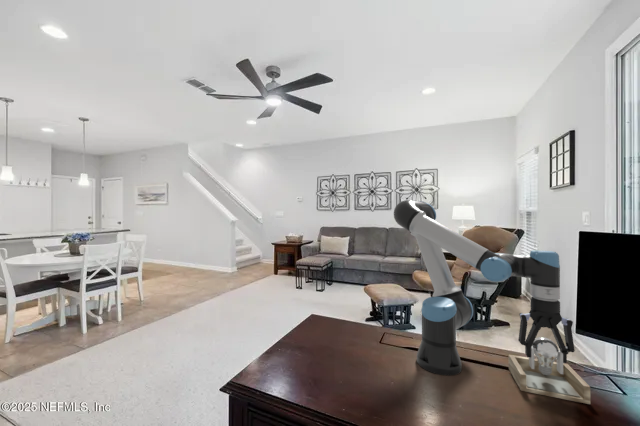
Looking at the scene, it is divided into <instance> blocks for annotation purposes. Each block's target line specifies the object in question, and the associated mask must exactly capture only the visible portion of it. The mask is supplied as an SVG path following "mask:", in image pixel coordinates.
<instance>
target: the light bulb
mask: <svg viewBox="0 0 640 426" xmlns="http://www.w3.org/2000/svg"><path fill="white" fill-rule="evenodd" d="M532 347H533V348H534V357H536V359H537V361H538V363H539V371H540V372H541V373H542V374H543V375H545V376H548V375H550V374H551V373H552V370H551V369H552V368H551V367H552V366H553V362H556V361H557V357H558V355H559V350H560V349H559V346H557V344H556V343H555V342H554V341H553V340H552V339H551V338H548V337H545V336H539V337H536V338H535V340H534V342H533V345H532Z"/></svg>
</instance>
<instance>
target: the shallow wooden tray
mask: <svg viewBox="0 0 640 426" xmlns="http://www.w3.org/2000/svg"><path fill="white" fill-rule="evenodd" d="M551 368H552V369H551V370H552V373H551V374H550V375H548V376H545V375H543V374H542V373H541V372H540V371H539V363H538V361H537V358H534V369H531V367H530V366H529V357H527V356H520V355H513V354H508V370H509V372H510V373H511V375H512V377H513V379H514V381H515V383H516V384H517V386H518V388H519V391H522V392H526V393H532V394H537V395H541V396H547V397H552V398H556V399H562V400H567V401H572V402H576V403H581V404H582V403H583V404H587V405H591V386H590V385H589V384H588V383H587V382H586V381H585V380H584V379H583V378H582V377H581V376H580V375H579V374H578V372H576V370H574V369H573V368H572V366H570V365H569V364H568V363H563V374H560V373H559V372H558V371H557V361H554V362H553V366H552V367H551Z"/></svg>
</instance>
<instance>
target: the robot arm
mask: <svg viewBox="0 0 640 426" xmlns="http://www.w3.org/2000/svg"><path fill="white" fill-rule="evenodd" d="M393 218H394V221H395V222H396V223H397V225H399V226H400V227H402V228H403V229H405V230H407V231H408V232H409V234H410V235H411V236H413V237H414V239H416V243H417V246H418V249H419V252H420V254H421V257H422V260H423V262H424V267H425V268H426V272H427V275H428V277H429V280H430V282H431V286H432V287H433V291H434V292H433V293H432V296H430V297H427V298H425V299H424V300H423V301H422V304H421V306H422V307H421V342H420V344H419V347H418V349H417V353H416V363H417V364H418V365H419V367H421V368H422V369H424V370H426V371H427V372H430V373H433V374H436V375H439V376H440V375H441V376H456V375H458V374H460V373H461V372H462V361H461V358H460V354H459V350H458V348H457V330H459V329H460V328H461V327H464V326H466V325H467V324H468V323H469V322H470V321H471V319H472V318H473V316H474V307H473V304H472V302H471V301H470V299H469V298H467V297H466V296H465V295H464V293H463V290H462V288H460V287H458V285H457V286H456V283H455V280H454V277H453V274H452V272H451V270H450V267H449V264H448V262H447V259H446V256H445V255H444V251H443V250H445V251H446V252H448V253H450V254H452V255H453V256H455V257H456V258H458V259H460V260H461V261H462V262H465V263H466V264H468V265H470V267H473V268H474V269H476V270H478V271H479V272H480V273H481V274H482V276H483V277H484V278H485V279H486V280H488V281H490V282H493V283H494V282H495V283H496V282H504V281H506V280H508V279H509V278H512V277H518V278H519V277H520V278H527V279H530V283H529V285H530V288H529V289H530V296H531V297H530V310H529V312H528V313H523V312H520V313H519V314H518V315H519V318H520V325H519V330H518V331H519V332H518V333H519V334H518V342H519V343H520V345H522V346H524V351H525V357H527V358H529V366H530V367H531V369H534V359H535V354H534V348H533V347H532V345H533V342H534V340H535V339H536V338H537V336H538V334H539V331H540V330H541V329H543V328H547V329H550V330H551V333H552V334H553V337H554V338H555V342H556V343H557V344H556V345H558V346H557V347H558V350H559V355H558V357H557V359H556V362H557V371H558V372H559V373H560V374H563V363H564V364H567V362H568V358H567V357H568V355H569V353H575V343H574V339H573V337H574V336H573V329H572V327H573V324H574V321H572V320H571V319H570V318H569V317H566V318H565V317H563V316H562V315H561V302H560V298H561V287H560V286H561V285H560V284H561V265H560V255H559V254H558V252H556V251H552V250H539V249H537V250H536V249H535V250H534V249H533V250H530V252H529V254H527V255H523V254H510V253H503V252H497V253H496V252H493V251H491V250H489V249H488V248H486V247H484V246H482V245H481V244H478V243H477V242H475V241H473V240H472V239H469V238H467V237H466V236H463V234H460V233H458V231H457V232H456V231H455V230H453V229H451V228H449V227H447V226H446V225H444V224H442V223H440V222H438V221H436V219H437V212H436V210H435V207H434V206H433V205H431V204H430V203H428V202H425V201H422V200H421V201H419V200H418V201H416V200H409V199H407V200H402V201H400V202H399V203H397V205H396V206H395V207H394V210H393ZM530 318H531V320H532V324H531V328H530V330H529V332H528V335H527V329H528V321H529V320H530ZM560 322H561V324H562V326H563V333H564V335H563V336H564V340H563V338H562V335H561V334H560V330H559V328H558V326H557V325H559V324H560ZM526 336H527V337H526ZM564 341H565V343H564Z"/></svg>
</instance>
